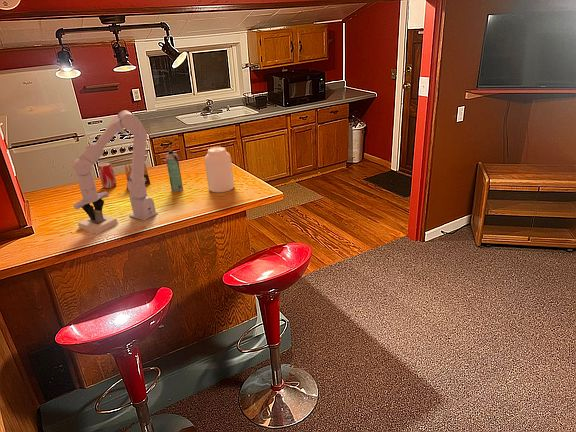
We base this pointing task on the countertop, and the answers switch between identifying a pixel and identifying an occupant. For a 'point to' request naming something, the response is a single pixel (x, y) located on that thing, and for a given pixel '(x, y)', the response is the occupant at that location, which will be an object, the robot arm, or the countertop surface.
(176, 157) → the spray can
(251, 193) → the countertop surface
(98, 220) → the key peg
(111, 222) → the socket block
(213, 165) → the white plastic jar
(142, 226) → the countertop surface
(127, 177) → the ammunition clip
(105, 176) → the soda can
